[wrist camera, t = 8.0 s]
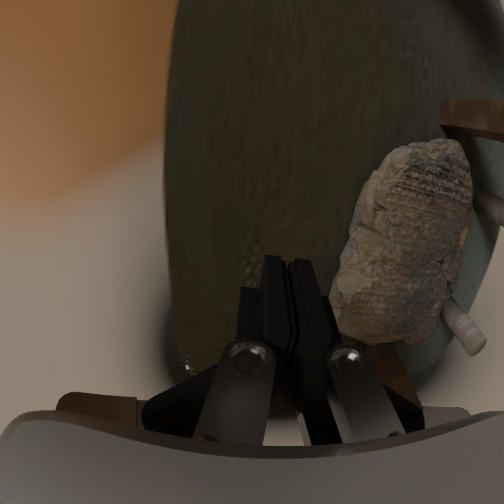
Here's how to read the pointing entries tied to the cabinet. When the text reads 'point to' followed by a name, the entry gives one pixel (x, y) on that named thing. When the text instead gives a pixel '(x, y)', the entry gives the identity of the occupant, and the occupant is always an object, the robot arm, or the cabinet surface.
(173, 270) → the cabinet surface
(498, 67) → the cabinet surface
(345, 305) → the clay tablet
